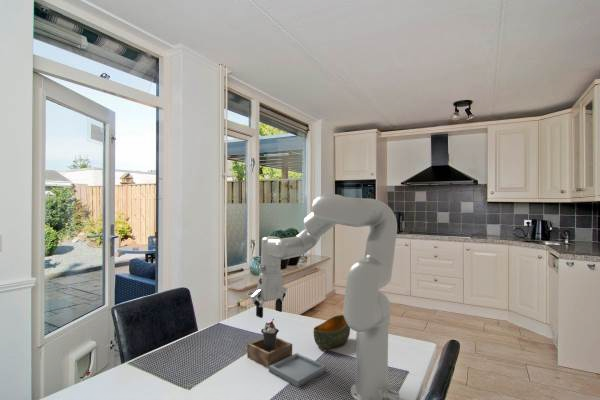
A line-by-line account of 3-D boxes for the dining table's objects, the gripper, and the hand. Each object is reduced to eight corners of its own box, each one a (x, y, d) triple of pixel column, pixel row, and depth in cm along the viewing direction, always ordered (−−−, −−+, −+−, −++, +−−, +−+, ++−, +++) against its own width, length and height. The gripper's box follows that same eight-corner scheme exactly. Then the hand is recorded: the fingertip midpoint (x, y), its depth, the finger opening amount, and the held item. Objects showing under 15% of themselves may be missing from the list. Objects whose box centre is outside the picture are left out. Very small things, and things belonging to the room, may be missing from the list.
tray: (325, 371, 114) (325, 365, 114) (298, 387, 104) (298, 381, 104) (296, 358, 123) (296, 353, 123) (268, 371, 113) (268, 366, 113)
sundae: (275, 362, 120) (276, 321, 120) (258, 360, 122) (259, 319, 122) (280, 354, 127) (281, 315, 127) (264, 352, 128) (264, 314, 128)
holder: (292, 357, 124) (292, 343, 124) (268, 368, 116) (268, 354, 116) (271, 347, 133) (271, 335, 133) (247, 357, 124) (247, 343, 124)
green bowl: (363, 347, 133) (362, 322, 133) (316, 353, 128) (315, 327, 128) (350, 335, 146) (350, 313, 146) (307, 340, 141) (307, 316, 141)
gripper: (259, 273, 116) (257, 322, 116) (293, 267, 129) (292, 311, 128) (246, 270, 121) (244, 316, 121) (280, 264, 134) (279, 306, 134)
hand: (269, 313), depth 125 cm, fingers open, 9 cm apart
